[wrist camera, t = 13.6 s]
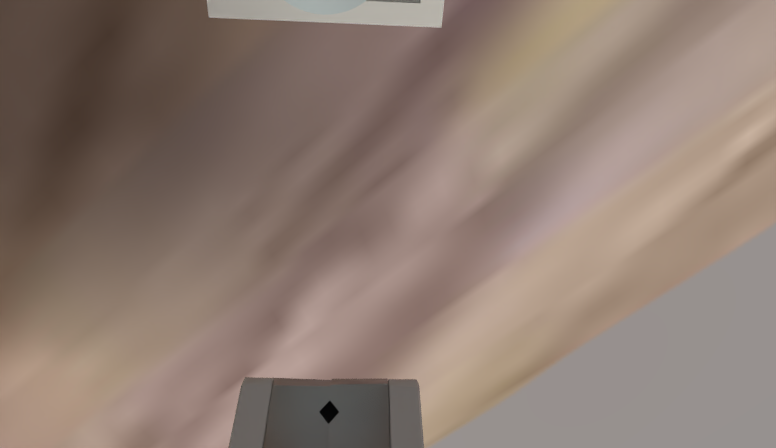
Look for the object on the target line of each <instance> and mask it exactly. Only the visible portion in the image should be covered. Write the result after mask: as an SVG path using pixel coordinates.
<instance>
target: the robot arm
mask: <svg viewBox="0 0 776 448" xmlns="http://www.w3.org/2000/svg"><path fill="white" fill-rule="evenodd" d="M229 448H424V443H423V430H422V417H421V404H420V391H419V384H418V382H417V380H416V379H389V380H388V379H332V380H317V379H290V378H252V377H245V379H244V381H243V383H242V385H241V389H240V394H239V399H238V404H237V409H236V414H235V418H234V423H233V428H232V433H231V438H230V443H229Z"/></svg>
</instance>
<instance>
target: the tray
mask: <svg viewBox="0 0 776 448" xmlns="http://www.w3.org/2000/svg"><path fill="white" fill-rule="evenodd" d="M207 6H208V15H209V18H229V19H252V20H276V21H299V22H322V23H345V24H368V25H391V26H415V27H438V28H441V26H442V17H443V8H444V0H207Z"/></svg>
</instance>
